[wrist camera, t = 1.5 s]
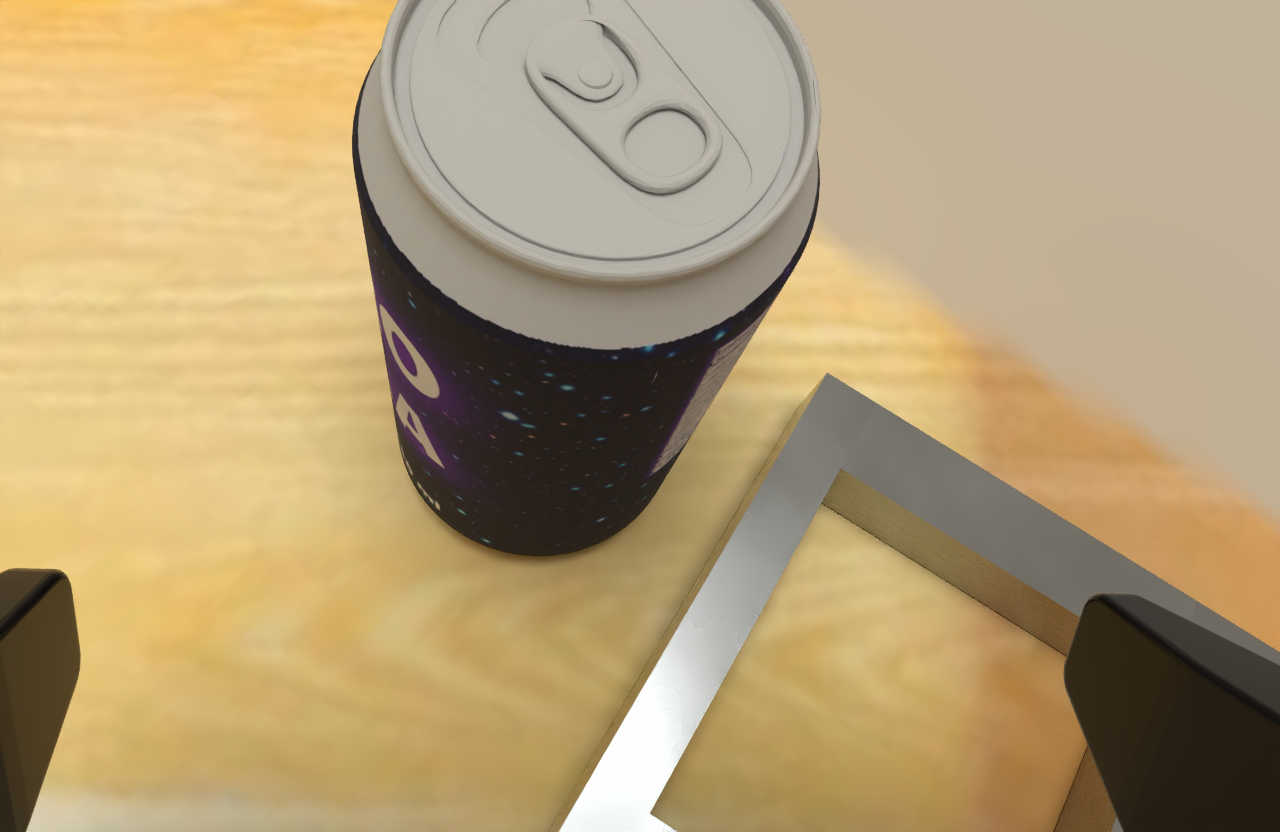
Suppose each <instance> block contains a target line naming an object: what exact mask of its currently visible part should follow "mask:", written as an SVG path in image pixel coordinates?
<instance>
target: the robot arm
mask: <svg viewBox="0 0 1280 832" xmlns="http://www.w3.org/2000/svg"><path fill="white" fill-rule="evenodd" d="M80 656H81V654H80V645H79V638H78V631H77V623H76V616H75V609H74V602H73V594H72V588H71V584H70V581H69V579H68V577H67V575H66V574H65V573H64V572H62V571H61V570H57V569H28V568H14V569H8V570H6V571H4V572H2V573H0V832H26V831H27V828H28V825H29V822H30V820H31V817H32V814H33V811H34V808H35V805H36V802H37V799H38V796H39V793H40V790H41V787H42V784H43V781H44V778H45V775H46V772H47V769H48V766H49V763H50V761H51V758H52V755H53V752H54V749H55V746H56V743H57V740H58V737H59V734H60V731H61V728H62V725H63V722H64V719H65V716H66V713H67V710H68V707H69V704H70V701H71V698H72V696H73V693H74V690H75V687H76V684H77V680H78V676H79V671H80ZM1064 683H1065V688H1066V691H1067V694H1068V697H1069V699H1070V702H1071V704H1072V707H1073V709H1074V712H1075V714H1076V717H1077V719H1078V722H1079V724H1080V727H1081V729H1082V732H1083V734H1084V737H1085V739H1086V742H1087V744H1088V747H1089V749H1090V752H1091V754H1092V757H1093V759H1094V762H1095V764H1096V767H1097V769H1098V772H1099V774H1100V777H1101V779H1102V782H1103V784H1104V787H1105V789H1106V792H1107V794H1108V797H1109V799H1110V802H1111V804H1112V807H1113V809H1114V812H1115V814H1116V816H1117V819H1118V821H1119V823H1120V825H1121V828H1122V830H1123V832H1280V665H1278V664H1276V663H1274V662H1272V661H1270V660H1268V659H1266V658H1264V657H1262V656H1260V655H1258V654H1256V653H1254V652H1252V651H1250V650H1248V649H1246V648H1244V647H1242V646H1240V645H1238V644H1236V643H1234V642H1232V641H1230V640H1228V639H1226V638H1224V637H1222V636H1220V635H1218V634H1216V633H1214V632H1212V631H1210V630H1208V629H1206V628H1203V627H1201V626H1199V625H1197V624H1195V623H1193V622H1191V621H1189V620H1187V619H1185V618H1183V617H1181V616H1179V615H1177V614H1175V613H1173V612H1171V611H1169V610H1167V609H1165V608H1163V607H1161V606H1159V605H1157V604H1155V603H1153V602H1151V601H1149V600H1147V599H1145V598H1143V597H1141V596H1138V595H1134V594H1112V593H1099V594H1095V595H1094V596H1092V597H1090V598H1089V599H1088V600H1087V602H1086V603H1085V605H1084V607H1083V610H1082V613H1081V616H1080V619H1079V622H1078V625H1077V628H1076V631H1075V634H1074V637H1073V639H1072V642H1071V645H1070V648H1069V651H1068V654H1067V657H1066V660H1065V665H1064Z"/></svg>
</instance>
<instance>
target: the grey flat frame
mask: <svg viewBox="0 0 1280 832" xmlns="http://www.w3.org/2000/svg"><path fill="white" fill-rule="evenodd" d="M821 503H823V504H825V505H826V506H828V507H829V508H831V509H833V510H834V511H836V512H837V513H839V514H841V515H842V516H844V517H845V518H847V519H849V520H850V521H852V522H853V523H855V524H857V525H858V526H860V527H861V528H863V529H865V530H866V531H868V532H869V533H871V534H872V535H874V536H876V537H877V538H879V539H880V540H882V541H884V542H885V543H887V544H888V545H890V546H892V547H893V548H895V549H896V550H898V551H900V552H901V553H903V554H904V555H906V556H908V557H909V558H911V559H912V560H914V561H916V562H917V563H919V564H920V565H922V566H924V567H925V568H927V569H928V570H930V571H932V572H933V573H935V574H936V575H938V576H940V577H941V578H943V579H944V580H946V581H948V582H949V583H951V584H952V585H954V586H956V587H957V588H959V589H960V590H962V591H964V592H965V593H967V594H968V595H970V596H972V597H973V598H975V599H976V600H978V601H980V602H981V603H983V604H984V605H986V606H988V607H989V608H991V609H992V610H994V611H996V612H997V613H999V614H1000V615H1002V616H1004V617H1005V618H1007V619H1008V620H1010V621H1012V622H1013V623H1015V624H1016V625H1018V626H1020V627H1021V628H1023V629H1024V630H1026V631H1028V632H1029V633H1031V634H1032V635H1034V636H1036V637H1037V638H1039V639H1040V640H1042V641H1044V642H1045V643H1047V644H1048V645H1050V646H1052V647H1053V648H1055V649H1056V650H1058V651H1060V652H1061V653H1063V654H1064V655H1066V656H1067V654H1068V651H1069V648H1070V645H1071V642H1072V639H1073V637H1074V634H1075V631H1076V628H1077V625H1078V622H1079V619H1080V616H1081V613H1082V610H1083V607H1084V605H1085V603H1086V602H1087V600H1088V599H1089V598H1090V597H1092V596H1094V595H1095V594H1099V593H1112V594H1134V595H1138V596H1141V597H1143V598H1145V599H1147V600H1149V601H1151V602H1153V603H1155V604H1157V605H1159V606H1161V607H1163V608H1165V609H1167V610H1169V611H1171V612H1173V613H1175V614H1177V615H1179V616H1181V617H1183V618H1185V619H1187V620H1189V621H1191V622H1193V623H1195V624H1197V625H1199V626H1201V627H1203V628H1206V629H1208V630H1210V631H1212V632H1214V633H1216V634H1218V635H1220V636H1222V637H1224V638H1226V639H1228V640H1230V641H1232V642H1234V643H1236V644H1238V645H1240V646H1242V647H1244V648H1246V649H1248V650H1250V651H1252V652H1254V653H1256V654H1258V655H1260V656H1262V657H1264V658H1266V659H1268V660H1270V661H1272V662H1274V663H1276V664H1278V665H1280V652H1279V651H1277V650H1275V649H1274V648H1272V647H1270V646H1269V645H1267V644H1266V643H1264V642H1262V641H1261V640H1259V639H1257V638H1256V637H1254V636H1253V635H1251V634H1249V633H1248V632H1246V631H1245V630H1243V629H1241V628H1240V627H1238V626H1236V625H1235V624H1233V623H1232V622H1230V621H1228V620H1227V619H1225V618H1223V617H1222V616H1220V615H1219V614H1217V613H1215V612H1214V611H1212V610H1211V609H1209V608H1207V607H1206V606H1204V605H1202V604H1201V603H1199V602H1198V601H1196V600H1194V599H1193V598H1191V597H1189V596H1188V595H1186V594H1185V593H1183V592H1181V591H1180V590H1178V589H1177V588H1175V587H1173V586H1172V585H1170V584H1168V583H1167V582H1165V581H1164V580H1162V579H1160V578H1159V577H1157V576H1155V575H1154V574H1152V573H1151V572H1149V571H1147V570H1146V569H1144V568H1143V567H1141V566H1139V565H1138V564H1136V563H1134V562H1133V561H1131V560H1130V559H1128V558H1126V557H1125V556H1123V555H1121V554H1120V553H1118V552H1117V551H1115V550H1113V549H1112V548H1110V547H1109V546H1107V545H1105V544H1104V543H1102V542H1100V541H1099V540H1097V539H1096V538H1094V537H1092V536H1091V535H1089V534H1087V533H1086V532H1084V531H1083V530H1081V529H1079V528H1078V527H1076V526H1075V525H1073V524H1071V523H1070V522H1068V521H1066V520H1065V519H1063V518H1062V517H1060V516H1058V515H1057V514H1055V513H1053V512H1052V511H1050V510H1049V509H1047V508H1045V507H1044V506H1042V505H1041V504H1039V503H1037V502H1036V501H1034V500H1032V499H1031V498H1029V497H1028V496H1026V495H1024V494H1023V493H1021V492H1019V491H1018V490H1016V489H1015V488H1013V487H1011V486H1010V485H1008V484H1007V483H1005V482H1003V481H1002V480H1000V479H998V478H997V477H995V476H994V475H992V474H990V473H989V472H987V471H985V470H984V469H982V468H981V467H979V466H977V465H976V464H974V463H973V462H971V461H969V460H968V459H966V458H964V457H963V456H961V455H960V454H958V453H956V452H955V451H953V450H951V449H950V448H948V447H947V446H945V445H943V444H942V443H940V442H939V441H937V440H935V439H934V438H932V437H930V436H929V435H927V434H926V433H924V432H922V431H921V430H919V429H917V428H916V427H914V426H913V425H911V424H909V423H908V422H906V421H905V420H903V419H901V418H900V417H898V416H896V415H895V414H893V413H892V412H890V411H888V410H887V409H885V408H883V407H882V406H880V405H879V404H877V403H875V402H874V401H872V400H871V399H869V398H867V397H866V396H864V395H862V394H861V393H859V392H858V391H856V390H854V389H853V388H851V387H849V386H848V385H846V384H845V383H843V382H841V381H840V380H838V379H837V378H835V377H833V376H832V375H830V374H828V373H826V375H825V376H824V377H823V378H822V379H821V381H820V382H819V383H818V384H817V385H816V386H815V388H814V389H813V390H812V391H811V392H810V394H809V395H808V396H807V397H806V398H805V400H804V401H803V402H802V403H801V404H800V406H799V407H798V409H797V410H796V412H795V414H794V415H793V417H792V419H791V420H790V422H789V424H788V426H787V427H786V429H785V431H784V432H783V434H782V436H781V437H780V439H779V441H778V443H777V444H776V446H775V448H774V449H773V451H772V453H771V454H770V456H769V458H768V460H767V461H766V463H765V465H764V466H763V468H762V470H761V471H760V473H759V475H758V477H757V478H756V480H755V482H754V483H753V485H752V487H751V488H750V490H749V492H748V494H747V495H746V497H745V499H744V500H743V502H742V504H741V505H740V507H739V509H738V511H737V512H736V514H735V516H734V517H733V519H732V521H731V522H730V524H729V526H728V528H727V529H726V531H725V533H724V534H723V536H722V538H721V539H720V541H719V543H718V545H717V546H716V548H715V550H714V551H713V553H712V555H711V556H710V558H709V560H708V562H707V563H706V565H705V567H704V568H703V570H702V572H701V573H700V575H699V577H698V579H697V580H696V582H695V584H694V585H693V587H692V589H691V590H690V592H689V594H688V596H687V597H686V599H685V601H684V602H683V604H682V606H681V607H680V609H679V611H678V613H677V614H676V616H675V618H674V619H673V621H672V623H671V624H670V626H669V628H668V630H667V631H666V633H665V635H664V636H663V638H662V640H661V641H660V643H659V645H658V647H657V648H656V650H655V652H654V653H653V655H652V657H651V658H650V660H649V662H648V664H647V665H646V667H645V669H644V670H643V672H642V674H641V675H640V677H639V679H638V681H637V682H636V684H635V686H634V687H633V689H632V691H631V692H630V694H629V696H628V698H627V699H626V701H625V703H624V704H623V706H622V708H621V709H620V711H619V713H618V715H617V716H616V718H615V720H614V721H613V723H612V725H611V726H610V728H609V730H608V732H607V733H606V735H605V737H604V738H603V740H602V742H601V743H600V745H599V747H598V749H597V750H596V752H595V754H594V755H593V757H592V759H591V760H590V762H589V764H588V766H587V767H586V769H585V771H584V772H583V774H582V776H581V777H580V779H579V781H578V783H577V784H576V786H575V788H574V789H573V791H572V793H571V794H570V796H569V798H568V800H567V801H566V803H565V805H564V806H563V808H562V810H561V811H560V813H559V815H558V817H557V818H556V820H555V822H554V823H553V825H552V827H551V828H550V830H549V832H677V831H676V830H674V829H672V828H671V827H669V826H668V825H666V824H665V823H663V822H662V821H660V820H659V819H657V818H656V817H654V816H652V815H651V814H649V813H650V812H651V810H652V808H653V806H654V804H655V803H656V801H657V799H658V797H659V795H660V794H661V792H662V790H663V788H664V786H665V785H666V783H667V781H668V779H669V777H670V776H671V774H672V772H673V770H674V768H675V767H676V765H677V763H678V761H679V759H680V757H681V756H682V754H683V752H684V750H685V748H686V747H687V745H688V743H689V741H690V739H691V738H692V736H693V734H694V732H695V730H696V729H697V727H698V725H699V723H700V721H701V720H702V718H703V716H704V714H705V712H706V711H707V709H708V707H709V705H710V703H711V701H712V700H713V698H714V696H715V694H716V692H717V691H718V689H719V687H720V685H721V683H722V682H723V680H724V678H725V676H726V674H727V673H728V671H729V669H730V667H731V665H732V664H733V662H734V660H735V658H736V656H737V655H738V653H739V651H740V649H741V647H742V645H743V644H744V642H745V640H746V638H747V636H748V635H749V633H750V631H751V629H752V627H753V626H754V624H755V622H756V620H757V618H758V617H759V615H760V613H761V611H762V609H763V608H764V606H765V604H766V602H767V600H768V599H769V597H770V595H771V593H772V591H773V589H774V588H775V586H776V584H777V582H778V580H779V579H780V577H781V575H782V573H783V571H784V570H785V568H786V566H787V564H788V562H789V561H790V559H791V557H792V555H793V553H794V552H795V550H796V548H797V546H798V544H799V543H800V541H801V539H802V537H803V535H804V533H805V532H806V530H807V528H808V526H809V524H810V523H811V521H812V519H813V517H814V515H815V514H816V512H817V510H818V508H819V506H820V505H821ZM1055 832H1123V830H1122V828H1121V825H1120V823H1119V821H1118V819H1117V816H1116V814H1115V812H1114V809H1113V807H1112V804H1111V802H1110V799H1109V797H1108V794H1107V792H1106V789H1105V787H1104V784H1103V782H1102V779H1101V777H1100V774H1099V772H1098V769H1097V767H1096V764H1095V762H1094V759H1093V757H1092V754H1091V752H1090V749H1089V747H1088V748H1087V750H1086V753H1085V756H1084V758H1083V761H1082V763H1081V766H1080V768H1079V771H1078V773H1077V776H1076V778H1075V781H1074V783H1073V786H1072V788H1071V791H1070V794H1069V796H1068V799H1067V801H1066V804H1065V806H1064V809H1063V811H1062V814H1061V816H1060V819H1059V821H1058V824H1057V826H1056V829H1055Z"/></svg>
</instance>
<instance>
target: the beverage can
mask: <svg viewBox="0 0 1280 832" xmlns="http://www.w3.org/2000/svg"><path fill="white" fill-rule="evenodd" d="M820 119H821V105H820V96H819V87H818V80H817V76H816V73H815V69H814V66H813V62H812V58H811V55H810V52H809V50H808V48H807V46H806V44H805V42H804V40H803V38H802V35H801V33H800V31H799V29H798V27H797V25H796V24H795V22H794V21H793V20H792V18H791V16H790V15H789V13H788V12H787V10H786V9H785V8H784V6H783V5H782V3H781V2H780V1H779V0H398V2H397V5H396V7H395V9H394V11H393V13H392V15H391V17H390V19H389V22H388V25H387V28H386V31H385V35H384V38H383V42H382V47H381V50H380V51H379V53H378V55H377V56H376V58H375V59H374V61H373V63H372V65H371V67H370V69H369V71H368V73H367V75H366V77H365V80H364V83H363V85H362V88H361V91H360V94H359V98H358V101H357V105H356V110H355V115H354V121H353V133H352V156H353V165H354V173H355V179H356V185H357V191H358V197H359V203H360V209H361V215H362V221H363V227H364V233H365V239H366V245H367V251H368V257H369V264H370V270H371V276H372V282H373V288H374V294H375V300H376V306H377V312H378V318H379V324H380V330H381V336H382V342H383V348H384V354H385V360H386V366H387V372H388V379H389V385H390V391H391V397H392V403H393V409H394V415H395V421H396V427H397V433H398V439H399V445H400V449H401V454H402V457H403V461H404V464H405V466H406V469H407V472H408V474H409V476H410V478H411V480H412V482H413V484H414V486H415V487H416V489H417V491H418V492H419V494H420V495H421V496H422V498H423V499H424V501H425V502H426V503H427V504H428V505H429V507H430V508H431V509H432V510H433V511H434V512H435V513H436V514H437V515H438V516H439V517H440V518H441V519H442V520H443V521H445V522H446V523H447V524H448V525H449V526H451V527H452V528H453V529H455V530H456V531H458V532H459V533H461V534H463V535H464V536H466V537H467V538H469V539H471V540H473V541H475V542H477V543H480V544H482V545H485V546H487V547H490V548H493V549H496V550H499V551H503V552H508V553H512V554H519V555H529V556H549V555H559V554H566V553H570V552H575V551H578V550H582V549H585V548H588V547H590V546H593V545H595V544H598V543H600V542H602V541H604V540H606V539H608V538H609V537H611V536H613V535H614V534H616V533H618V532H619V531H620V530H622V529H623V528H625V527H626V526H627V525H628V524H629V523H631V522H632V521H633V520H634V519H635V518H636V517H637V516H638V515H639V514H640V513H641V512H642V511H643V510H644V509H645V507H646V506H647V505H648V504H649V502H650V501H651V500H652V498H653V497H654V495H655V494H656V492H657V490H658V489H659V487H660V485H661V484H662V482H663V481H664V479H665V477H666V476H667V474H668V473H669V471H670V469H671V468H672V466H673V464H674V463H675V461H676V460H677V458H678V456H679V455H680V453H681V451H682V450H683V448H684V447H685V445H686V443H687V442H688V440H689V438H690V437H691V435H692V434H693V432H694V430H695V429H696V427H697V425H698V424H699V422H700V421H701V419H702V417H703V416H704V414H705V412H706V411H707V409H708V408H709V406H710V404H711V403H712V401H713V399H714V398H715V396H716V395H717V393H718V391H719V390H720V388H721V387H722V385H723V383H724V382H725V380H726V378H727V377H728V375H729V374H730V372H731V370H732V369H733V367H734V365H735V364H736V362H737V361H738V359H739V357H740V356H741V354H742V352H743V351H744V349H745V348H746V346H747V344H748V343H749V341H750V339H751V338H752V336H753V335H754V333H755V331H756V330H757V328H758V326H759V325H760V323H761V322H762V320H763V318H764V317H765V315H766V313H767V312H768V310H769V309H770V307H771V305H772V304H773V302H774V301H775V299H776V297H777V296H778V294H779V292H780V291H781V289H782V288H783V286H784V284H785V283H786V281H787V279H788V278H789V276H790V275H791V273H792V271H793V270H794V268H795V266H796V265H797V263H798V261H799V259H800V258H801V256H802V253H803V251H804V249H805V247H806V245H807V242H808V240H809V237H810V234H811V231H812V228H813V225H814V221H815V217H816V212H817V206H818V200H819V187H820V170H819V160H818V151H817V146H818V140H819V134H820V121H821V120H820Z"/></svg>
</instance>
